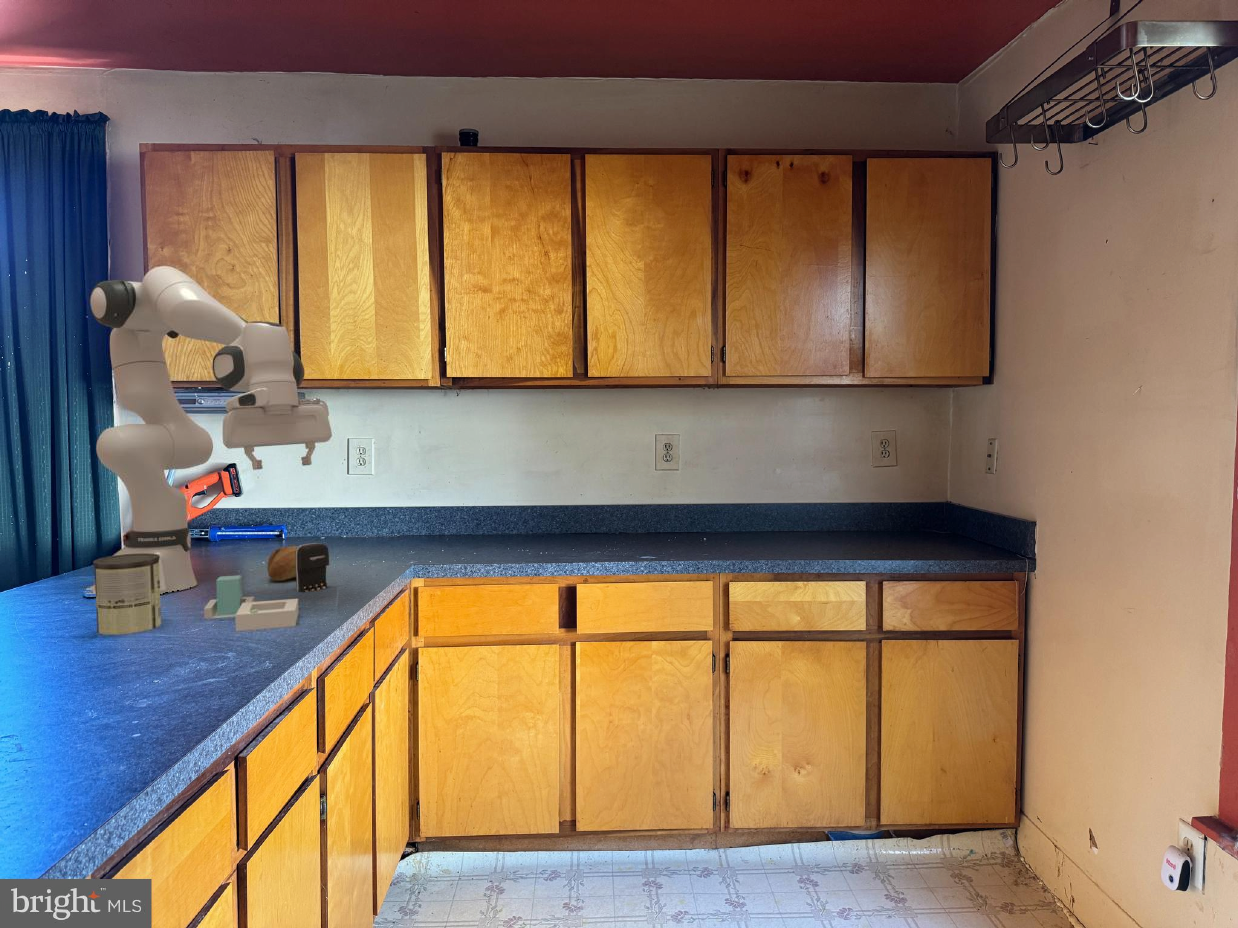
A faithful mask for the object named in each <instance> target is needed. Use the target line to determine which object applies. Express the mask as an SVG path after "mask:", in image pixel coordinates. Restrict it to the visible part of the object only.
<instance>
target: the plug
mask: <svg viewBox="0 0 1238 928" xmlns="http://www.w3.org/2000/svg"><path fill="white" fill-rule="evenodd" d="M242 580H243V579H242V574H241V575H227V576H226V575H225V576H219V577H218V578H217V579H216V580H215V582H216V599H217V615H230V614H236V613H237V611H238V610H239V608H240V606H241V605H242V597H243V585H242V584H243V583H242V582H243V581H242Z"/></svg>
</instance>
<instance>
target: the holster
mask: <svg viewBox="0 0 1238 928" xmlns="http://www.w3.org/2000/svg"><path fill="white" fill-rule="evenodd" d="M247 602H255V596H246V597H243V596H242V603H247ZM235 615H236V614H230V615H217V598H216V599H210V600H209V601H208V603H207V604H206V605H205V607H204V608H203V619H204V620H210V619H211V620H212V619H222V618H224V619H225V618H232V617H233V618H234V617H235V618H236V616H235Z"/></svg>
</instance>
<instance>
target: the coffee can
mask: <svg viewBox="0 0 1238 928" xmlns="http://www.w3.org/2000/svg"><path fill="white" fill-rule="evenodd" d="M159 559H160V556H159V555H157V554H149V553H148V554H147V553H140V554H124V555H116V556H113V555H111V556H110V555H109V556H106V557H105V556H104V557H100V558H98V559H95V560H93V567H94V584H95V590H96V598H95V607H96V627H97V630H96V631H97V634H98V633H99V635H103V636H104V635H105V636H115V635H117V636H118V635H120V636H121V635H122V636H123V635H129V634H136V633H142V632H147V631H151V630H153V629H157V628H158V627H160V626H162V606H161V595H160V576H159Z"/></svg>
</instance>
